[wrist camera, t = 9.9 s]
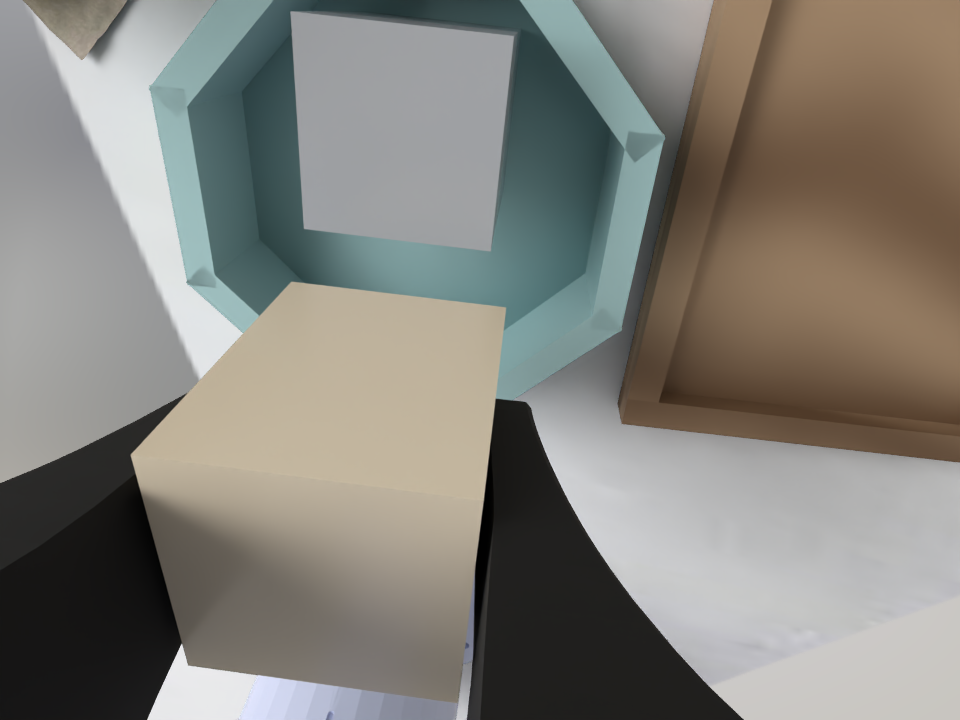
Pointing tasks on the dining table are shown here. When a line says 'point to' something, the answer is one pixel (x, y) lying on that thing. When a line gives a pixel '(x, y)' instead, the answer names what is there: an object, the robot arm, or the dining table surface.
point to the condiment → (77, 20)
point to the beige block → (331, 491)
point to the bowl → (401, 264)
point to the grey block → (403, 125)
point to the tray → (812, 234)
